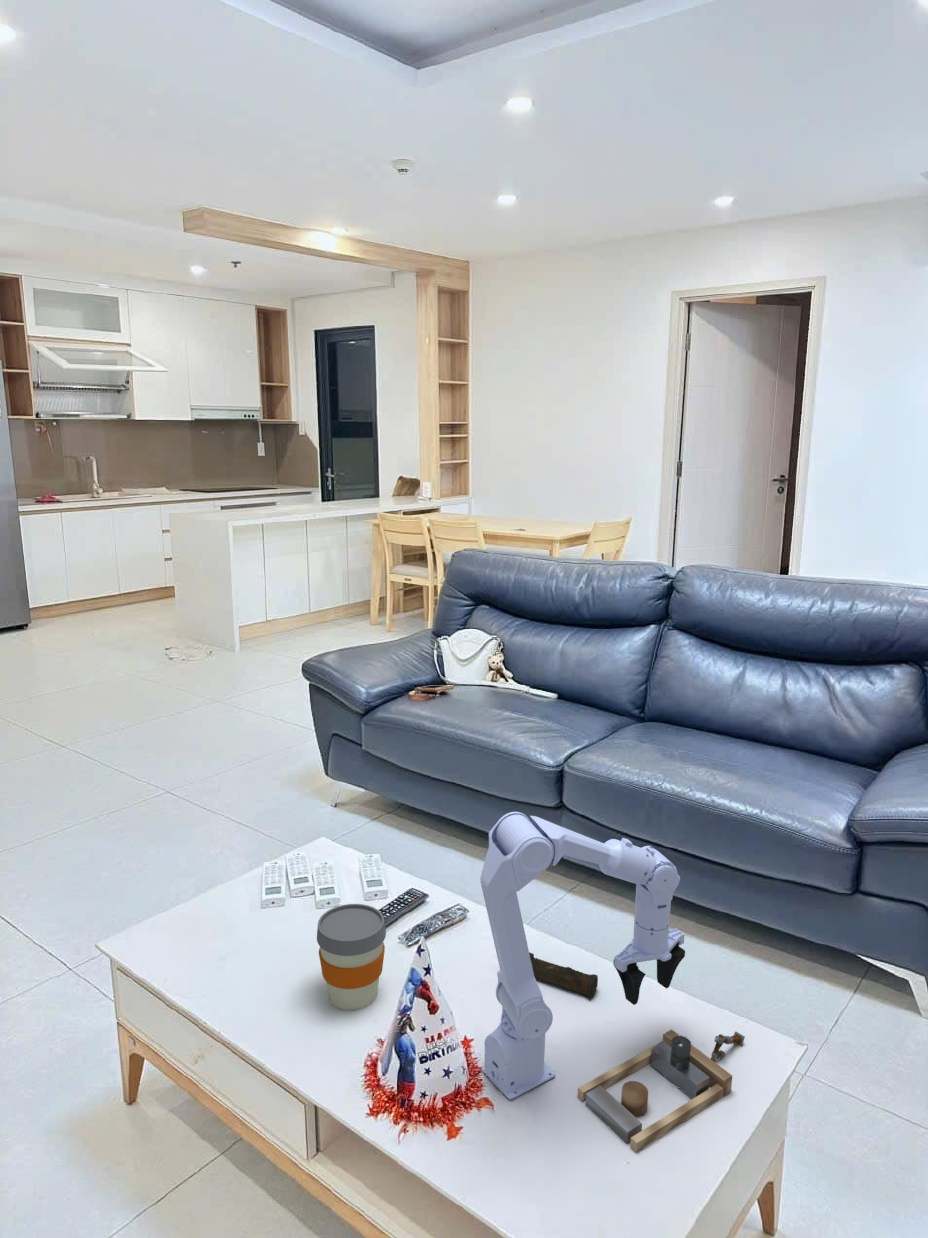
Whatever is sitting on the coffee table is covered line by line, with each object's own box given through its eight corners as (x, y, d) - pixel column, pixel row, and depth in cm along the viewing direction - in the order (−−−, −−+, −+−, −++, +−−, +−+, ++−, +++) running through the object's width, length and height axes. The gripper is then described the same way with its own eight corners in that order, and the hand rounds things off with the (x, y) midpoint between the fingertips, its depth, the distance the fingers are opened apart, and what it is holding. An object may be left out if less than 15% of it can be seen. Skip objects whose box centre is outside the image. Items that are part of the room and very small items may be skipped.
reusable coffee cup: (399, 983, 163) (398, 912, 160) (364, 1024, 152) (362, 948, 149) (342, 966, 168) (340, 896, 165) (305, 1004, 157) (302, 931, 154)
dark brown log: (599, 990, 162) (600, 968, 161) (591, 1002, 158) (592, 980, 157) (509, 960, 171) (509, 939, 170) (500, 970, 168) (500, 949, 166)
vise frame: (636, 1152, 126) (637, 1134, 125) (577, 1096, 136) (578, 1080, 135) (731, 1091, 137) (732, 1075, 136) (670, 1044, 147) (671, 1029, 147)
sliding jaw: (695, 1101, 135) (698, 1064, 133) (650, 1064, 142) (652, 1028, 141) (708, 1093, 136) (711, 1056, 135) (663, 1057, 144) (665, 1021, 143)
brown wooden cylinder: (633, 1120, 131) (634, 1104, 131) (615, 1104, 135) (616, 1087, 134) (652, 1109, 133) (653, 1093, 133) (634, 1093, 137) (635, 1077, 136)
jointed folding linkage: (704, 1058, 143) (712, 1032, 143) (728, 1055, 148) (736, 1029, 149) (713, 1064, 142) (722, 1037, 142) (737, 1061, 147) (745, 1035, 147)
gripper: (637, 947, 136) (633, 1022, 139) (700, 918, 144) (695, 989, 147) (606, 925, 142) (603, 998, 145) (668, 899, 150) (664, 968, 153)
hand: (647, 992), depth 146 cm, fingers open, 7 cm apart
